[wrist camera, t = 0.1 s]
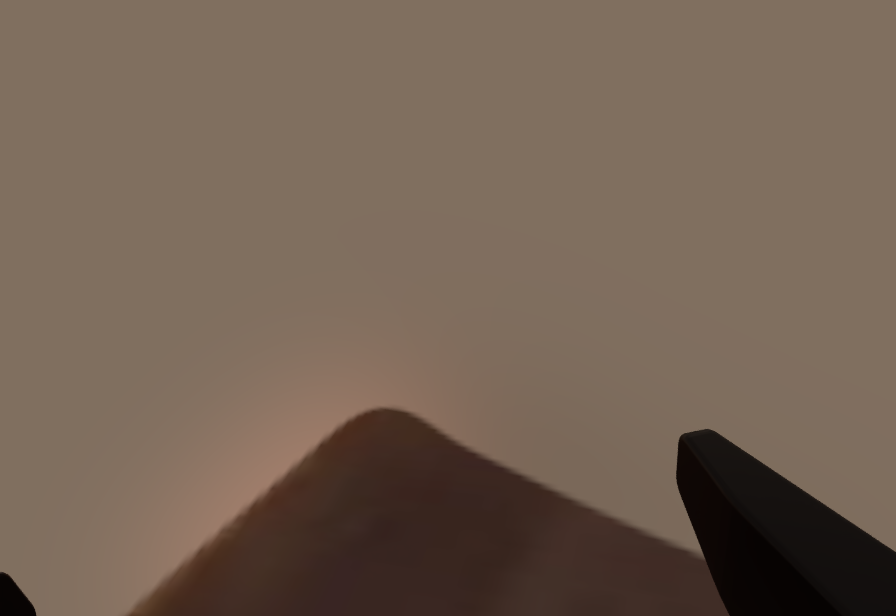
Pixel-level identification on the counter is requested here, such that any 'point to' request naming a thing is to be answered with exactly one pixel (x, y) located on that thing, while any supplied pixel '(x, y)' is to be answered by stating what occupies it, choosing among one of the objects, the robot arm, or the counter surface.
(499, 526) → the counter surface
